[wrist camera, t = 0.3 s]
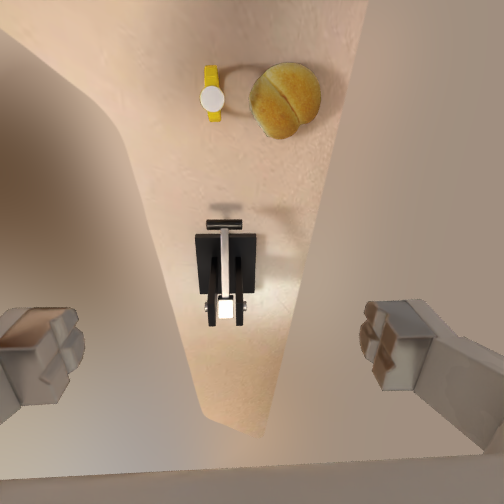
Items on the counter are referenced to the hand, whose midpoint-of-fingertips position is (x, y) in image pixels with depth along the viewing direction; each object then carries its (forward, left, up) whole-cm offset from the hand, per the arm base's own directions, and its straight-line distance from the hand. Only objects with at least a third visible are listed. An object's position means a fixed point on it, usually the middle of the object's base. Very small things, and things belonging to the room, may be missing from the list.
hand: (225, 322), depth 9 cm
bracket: (+25, -1, -38) cm, 46 cm away
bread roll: (-1, +7, -39) cm, 39 cm away
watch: (-2, -2, -39) cm, 39 cm away
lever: (+20, -1, -31) cm, 37 cm away
